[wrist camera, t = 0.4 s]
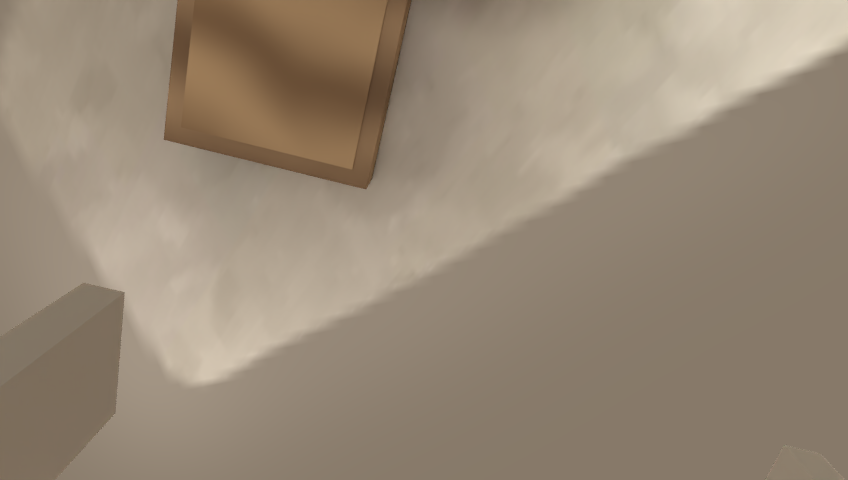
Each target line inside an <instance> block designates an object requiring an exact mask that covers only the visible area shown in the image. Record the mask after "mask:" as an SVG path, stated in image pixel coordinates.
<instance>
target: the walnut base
mask: <svg viewBox="0 0 848 480" xmlns="http://www.w3.org/2000/svg"><path fill="white" fill-rule="evenodd" d="M410 4H411V0H178V2H177V12H176V22H175V32H174V42H173V52H172V62H171V73H170V83H169V93H168V103H167V113H166V123H165V133H164V140H168V141H172V142H176V143H180V144H184V145H188V146H192V147H196V148H200V149H205V150H209V151H213V152H217V153H221V154H225V155H229V156H233V157H237V158H241V159H245V160H249V161H253V162H257V163H261V164H265V165H270V166H274V167H278V168H282V169H286V170H290V171H294V172H298V173H302V174H306V175H310V176H314V177H318V178H322V179H326V180H330V181H335V182H339V183H343V184H347V185H351V186H355V187H359V188H363V189H366V188H367V187H368V185H369V183H370V181H371V180H372V176H373V172H374V167H375V163H376V158H377V153H378V149H379V144H380V140H381V135H382V131H383V126H384V122H385V117H386V113H387V108H388V104H389V99H390V95H391V90H392V85H393V81H394V76H395V72H396V67H397V63H398V58H399V54H400V49H401V45H402V40H403V36H404V31H405V27H406V22H407V17H408V13H409V8H410Z"/></svg>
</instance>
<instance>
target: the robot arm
mask: <svg viewBox="0 0 848 480" xmlns="http://www.w3.org/2000/svg"><path fill="white" fill-rule="evenodd" d="M124 293H125V292H121V291H117V290H112V289H108V288H104V287H99V286H95V285H91V284H86V283H83V284H81V285H80V286H78V287H76V288H75V289H73V290H72V291H70V292H69V293H67V294H66V295H64V296H62V297H61V298H59V299H58V300H57V301H55V302H53V303H52V304H50V305H49V306H47V307H46V308H44V309H42V310H41V311H39V312H38V313H36V314H35V315H33V316H32V317H30V318H28V319H27V320H25V321H24V322H22V323H21V324H19V325H18V326H16V327H15V328H13V329H11V330H10V331H8V332H7V333H5V334H4V335H3V336H1V337H0V480H55V479H56V478H57V477H58V476H59V475H60V474H61V473H62V472H63V471H64V469H65V468H66V467H67V466H68V465H69V464H70V462H72V461H73V460H74V458H75V457H76V456H77V455H78V454H79V453H80V452H81V451H82V450H83V448H84V447H85V446H86V445H87V444H88V443H89V442H90V441H91V440H92V438H93V437H94V436H95V435H96V434H97V433H98V432H99V430H100V429H102V427H103V426H104V425H105V424H106V423H107V422H108V421H109V420H110V419H111V417H112V416H113V415H114V414H115V411H116V397H117V385H118V372H119V359H120V346H121V332H122V320H123V306H124ZM765 480H845V479H844V478H843V477H842V476H841V475H840V474H839V473H838V472H837V471H836V470H835V469H834V468H833V466H832V465H831V464H830V463H829V462H828V461H827V460H826V459H825V458H824V457H823V456H822V455H821V454H820V453H816V452H812V451H807V450H803V449H799V448H794V447H790V446H786V445H784V446H783V448H782V450H781V452H780V453H779V455H778V457H777V459H776V461H775V462H774V464H773V466H772V468H771V470H770V471H769V473H768V475H767V477H766V479H765Z"/></svg>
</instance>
